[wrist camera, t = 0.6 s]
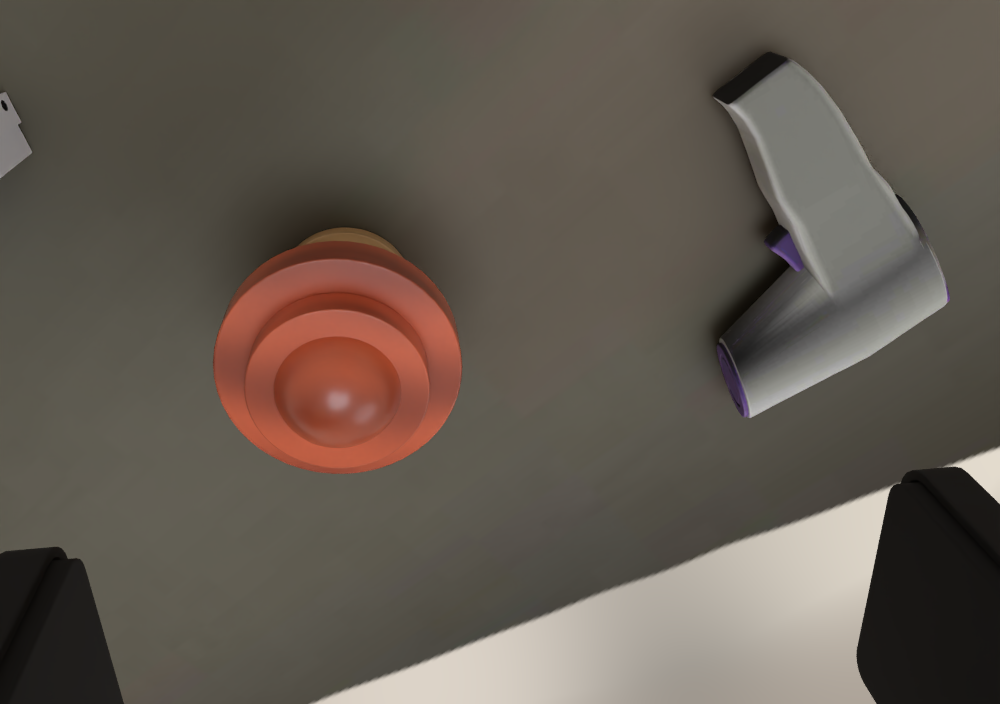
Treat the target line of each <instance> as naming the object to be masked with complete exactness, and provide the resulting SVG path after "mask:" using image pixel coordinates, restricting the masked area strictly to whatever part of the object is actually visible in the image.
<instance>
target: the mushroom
mask: <svg viewBox="0 0 1000 704" xmlns="http://www.w3.org/2000/svg"><path fill="white" fill-rule="evenodd" d="M213 369H214V379H215V383H216V388H217V392H218V394H219V397H220V400H221V402H222V405H223V407H224V408H225V410H226V412H227V414H228V415H229V417H230V419H231V420H232V421H233V423H234V424H235V425H236V427H237V428H238V429H239V430H240V431H241V432H242V433H243V435H244V436H245V437H246V438H247V439H248V440H249V441H251V442H252V443H253V444H255V445H256V446H257V447H258V448H260V449H261V450H262V451H264V452H266V453H267V454H269V455H271V456H272V457H274V458H276V459H278V460H280V461H282V462H285V463H287V464H289V465H292V466H295V467H298V468H301V469H306V470H310V471H315V472H322V473H331V474H349V473H358V472H365V471H370V470H374V469H378V468H381V467H384V466H387V465H390V464H393V463H395V462H397V461H399V460H401V459H403V458H405V457H407V456H408V455H410V454H412V453H413V452H415V451H417V450H418V449H419V448H420V447H422V446H423V445H424V444H425V443H427V442H428V441H429V440H430V439H431V438H432V437H433V436H434V435H435V434H436V433H437V432H438V430H439V429H440V428H441V426H442V425H443V424H444V422H445V421H446V420H447V418H448V416H449V414H450V412H451V411H452V409H453V407H454V404H455V402H456V399H457V396H458V393H459V389H460V384H461V376H462V359H461V350H460V344H459V338H458V332H457V328H456V323H455V319H454V317H453V314H452V312H451V309H450V307H449V305H448V303H447V301H446V300H445V298H444V296H443V294H442V293H441V292H440V290H439V289H438V288H437V287H436V285H435V284H434V283H433V282H432V281H431V280H430V279H429V278H428V277H427V276H426V275H425V274H424V273H423V272H422V271H421V270H420V269H418V268H417V267H416V266H414V265H413V264H412V263H410V262H409V261H407V260H405V259H404V258H403V257H402V256H401V254H400V253H399V252H398V250H397V249H396V248H395V247H394V246H393V245H391V244H390V243H389V242H388V241H386V240H385V239H383V238H381V237H380V236H378V235H376V234H374V233H371V232H369V231H365V230H362V229H357V228H346V227H342V228H332V229H328V230H324V231H321V232H318V233H316V234H314V235H312V236H310V237H308V238H307V239H305V240H304V241H302V242H301V243H300V244H299V245H298V246H297V247H296V248H293V249H290V250H287V251H285V252H283V253H281V254H279V255H277V256H275V257H273V258H271V259H270V260H268V261H267V262H265V263H264V264H262V265H261V266H259V267H258V268H257V269H256V270H255V271H254V272H253V273H251V274H250V275H249V276H248V277H247V278H246V280H245V281H244V282H243V283H242V284H241V286H240V287H239V288H238V289H237V291H236V293H235V294H234V296H233V298H232V299H231V301H230V303H229V306H228V308H227V310H226V313H225V315H224V318H223V321H222V324H221V327H220V329H219V332H218V335H217V339H216V343H215V347H214V358H213Z"/></svg>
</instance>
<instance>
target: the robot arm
mask: <svg viewBox="0 0 1000 704" xmlns="http://www.w3.org/2000/svg"><path fill="white" fill-rule="evenodd" d="M857 664H858V669H859V672H860V675H861V678H862V680H863V682H864V684H865V686H866V687H867V689H868V690H869V692H870V694H871V695H872V697H873V698H874V700H875V702H876V703H877V704H1000V504H999V503H998V502H997V501H996V500H995V499H994V498H993V497H992V496H991V495H990V494H989V493H988V492H987V491H986V490H985V489H984V488H983V487H982V486H981V485H979V484H978V482H976V481H975V480H974V479H973V478H972V477H971V476H970V475H969V474H968V473H967V472H966V471H964V470H963V469H962V468H958V467H945V468H934V469H923V470H912V471H910V472H907V473H906V474H905V476H904V477H903V478H902V481H901V484H896V485H894V486H893V487H892V488H891V490H890V493H889V496H888V500H887V505H886V510H885V515H884V520H883V525H882V530H881V535H880V540H879V544H878V549H877V554H876V559H875V564H874V569H873V574H872V578H871V583H870V589H869V593H868V598H867V603H866V608H865V613H864V618H863V623H862V627H861V632H860V637H859V642H858V647H857ZM0 704H124V703H123V699H122V696H121V692H120V689H119V685H118V682H117V678H116V674H115V671H114V667H113V664H112V660H111V657H110V653H109V650H108V646H107V643H106V639H105V636H104V632H103V629H102V625H101V622H100V618H99V615H98V611H97V608H96V604H95V601H94V597H93V594H92V590H91V587H90V583H89V580H88V576H87V573H86V569H85V567H84V564H83V562H82V561H81V560H80V559H77V558H75V559H68V558H67V556H66V553H65V552H64V551H63V550H62V548H59V547H49V548H37V549H26V550H15V551H6V552H3V553H1V554H0Z"/></svg>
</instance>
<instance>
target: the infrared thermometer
mask: <svg viewBox="0 0 1000 704" xmlns="http://www.w3.org/2000/svg"><path fill="white" fill-rule="evenodd" d="M713 97H714V99H716V100H717V101H718V102H719V103H720V104H721V105H722V106H723V107H724V108H725V109H726V110H727V111H728V113H729V114H730V116H731V118H732V119H733V121H734V122H735V124H736V126H737V127H738V130H739V132H740V135H741V138H742V140H743V143H744V146H745V148H746V151H747V154H748V157H749V160H750V162H751V165H752V168H753V171H754V174H755V177H756V180H757V183H758V186H759V187H760V189H761V191H762V193H763V195H764V196H765V198H766V200H767V201H768V203H769V204H770V206H771V208H772V209H773V211H774V213H775V216H776V219H777V221H778V224H779V225H778V226H777V227H776V228H774V229H773V230H772V231H771V232H770V234H769V235H768V236H767V237H766V239H765V240H764V243H765V245H766V246H767V247H768V248H769V249H770V250H772V251H773V252H775V253H777V254H778V255H779V256H781V257H782V258H783V259H785V260H786V261H787V262H788V264H789V265H790V267H789V268H788V269H787V270H786V271H785V272H784V273H783V274H782V275H781V276H780V277H779V278H778V279H777V280H776V281H775V282H774V283H773V284H772V285H771V286H770V287H769V288H768V289H767V290H766V291H765V292H764V293H763V294H762V295H761V296H760V297H759V298H758V300H757V301H756V302H755V303H754V304H753V305H752V306H751V307H750V308H749V309H748V310H747V311H746V312H745V313H744V314H743V315H742V316H741V317H740V318H739V319H738V320H737V321H736V322H735V323H734V324H733V325H732V326H731V327H730V328H729V329H728V330H727V331H726V332H725V333H724V334H723V335H722V336H721V337H720V339H719V343H718V344H717V353H718V358H719V362H720V366H721V369H722V372H723V375H724V378H725V381H726V384H727V387H728V389H729V392H730V394H731V396H732V399H733V401H734V403H735V405H736V407H737V409H738V411H739V413H740V414H741V415H742V416H743V417H748V418H751V417H753V416H755V415H757V414H758V413H760V412H762V411H764V410H766V409H768V408H770V407H772V406H773V405H775V404H777V403H779V402H781V401H783V400H785V399H787V398H789V397H791V396H793V395H795V394H797V393H799V392H801V391H803V390H804V389H806V388H808V387H810V386H812V385H814V384H816V383H818V382H820V381H822V380H824V379H826V378H828V377H830V376H832V375H834V374H836V373H838V372H839V371H841V370H843V369H845V368H847V367H849V366H851V365H853V364H855V363H857V362H859V361H861V360H863V359H865V358H867V357H869V356H870V355H872V354H873V353H875V352H876V351H878V350H879V349H881V348H882V347H884V346H885V345H887V344H888V343H890V342H891V341H893V340H894V339H896V338H897V337H899V336H900V335H901V334H903V333H904V332H906V331H907V330H909V329H910V328H912V327H913V326H915V325H916V324H918V323H919V322H921V321H922V320H924V319H925V318H927V317H928V316H930V315H931V314H933V313H934V312H936V311H937V310H939V309H940V308H942V307H943V306H945V305H946V303H947V302H948V301H949V299H950V297H949V292H948V288H947V285H946V281H945V278H944V276H943V273H942V270H941V267H940V264H939V262H938V259H937V257H936V255H935V252H934V250H933V248H932V246H931V244H930V241H929V239H928V237H927V235H926V234H925V232H924V230H923V228H922V226H921V224H920V223H919V221H918V219H917V218H916V216H915V214H914V213H913V212H912V210H911V209H910V207H909V206H908V205H907V204H906V202H905V201H904V200H903V199H902V198H901V197H900V196H898V195H897V194H894V192H893V191H892V189H891V187H890V185H889V184H888V183H887V182H886V181H885V179H884V178H883V177H882V176H881V175H880V174H879V173H878V172H877V171H876V170H875V169H874V168H873V167H872V166H871V165H870V163H869V161H868V158H867V156H866V154H865V152H864V150H863V148H862V147H861V145H860V143H859V141H858V139H857V138H856V136H855V134H854V133H853V131H852V129H851V128H850V126H849V124H848V123H847V121H846V119H845V118H844V116H843V114H842V113H841V111H840V109H839V108H838V107H837V105H836V104H835V103H834V101H833V100H832V99H831V97H830V96H829V95H828V93H827V92H826V91H825V89H824V88H823V87H822V86H821V85H820V84H819V83H818V82H817V80H816V79H815V78H814V77H813V76H812V75H811V74H810V73H809V72H808V71H807V70H805V69H804V68H803V67H802V66H800V65H799V64H798V63H796V62H795V61H793V60H792V59H790V58H787V57H784V56H781V55H778V54H775V53H772V52H768V53H766V54H764V55H763V56H761V57H760V58H759V59H757V60H756V61H755V62H753V63H752V64H751V65H749V66H748V67H747V68H745V69H744V70H743V71H742V72H740V73H739V74H738V75H736V76H735V77H734V78H733V79H731V80H730V81H729V82H728V83H726V84H725V85H724V86H723V87H721V88H720V89H719V90H718V91H716V92H715V93H714V94H713Z"/></svg>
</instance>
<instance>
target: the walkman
mask: <svg viewBox="0 0 1000 704" xmlns="http://www.w3.org/2000/svg"><path fill="white" fill-rule="evenodd" d="M20 123H21V120H20V118H19V116H18V114H17V113H16V111H15V109H14V107H13V105H12V103H11V101H10V99H9V97H8V95H7V93H6V92H4V93H1V94H0V178H1V177H2V176H4V175H5V174H6V173H7V172H9V171H10V170H11V169H13V168H14V167H15V166H16V165H18V164H19V163H20V162H21V161H23V160H24V159H25V158H26V157H28V156H29V155H30V154H31V153H32V150H31V149H30V147H29V145H28V143H27V141H26V139H25V137H24V135H23V133H22V132H21V130H20V128H19V126H18V124H20Z"/></svg>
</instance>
